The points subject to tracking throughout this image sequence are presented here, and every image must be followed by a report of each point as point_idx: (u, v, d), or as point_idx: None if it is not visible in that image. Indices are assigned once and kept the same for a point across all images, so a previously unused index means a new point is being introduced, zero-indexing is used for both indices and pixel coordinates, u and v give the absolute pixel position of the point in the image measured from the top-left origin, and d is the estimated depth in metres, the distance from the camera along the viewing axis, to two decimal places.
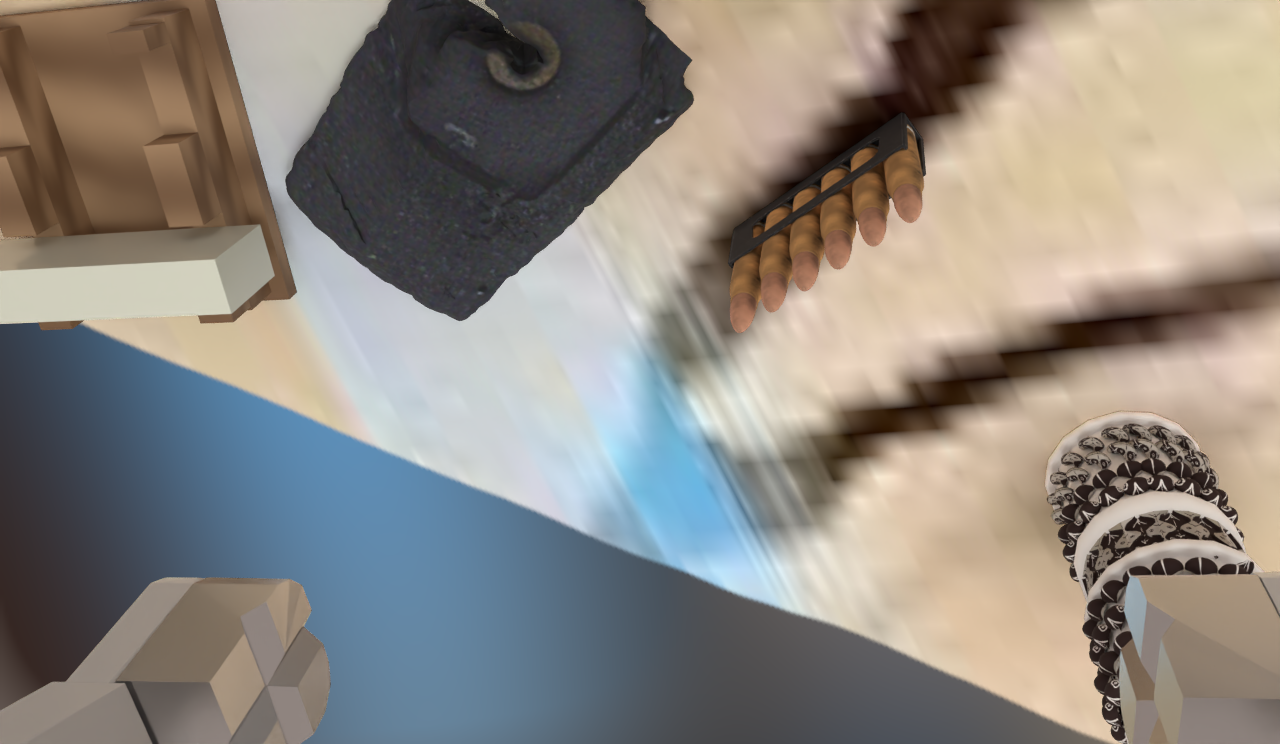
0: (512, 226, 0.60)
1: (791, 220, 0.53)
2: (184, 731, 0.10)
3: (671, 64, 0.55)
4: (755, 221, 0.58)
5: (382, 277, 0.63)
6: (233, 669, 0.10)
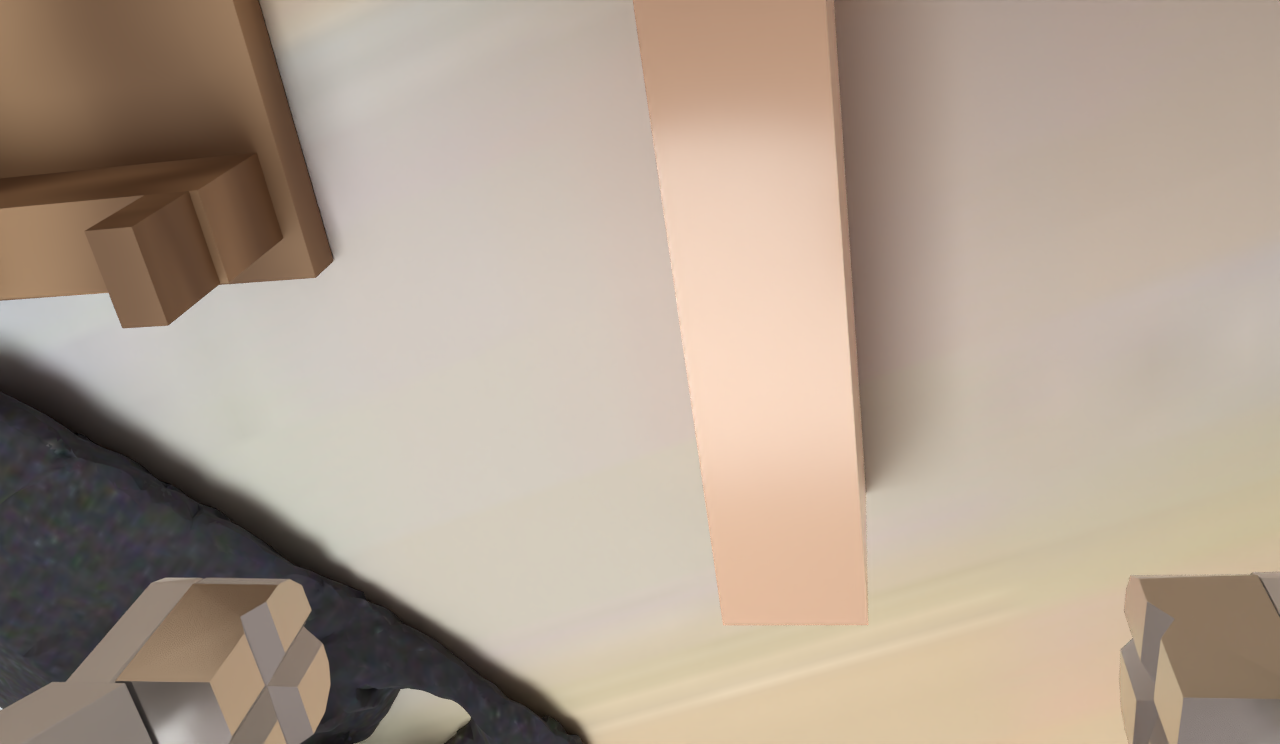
0: None
1: None
2: (184, 731, 0.10)
3: None
4: None
5: None
6: (232, 669, 0.10)
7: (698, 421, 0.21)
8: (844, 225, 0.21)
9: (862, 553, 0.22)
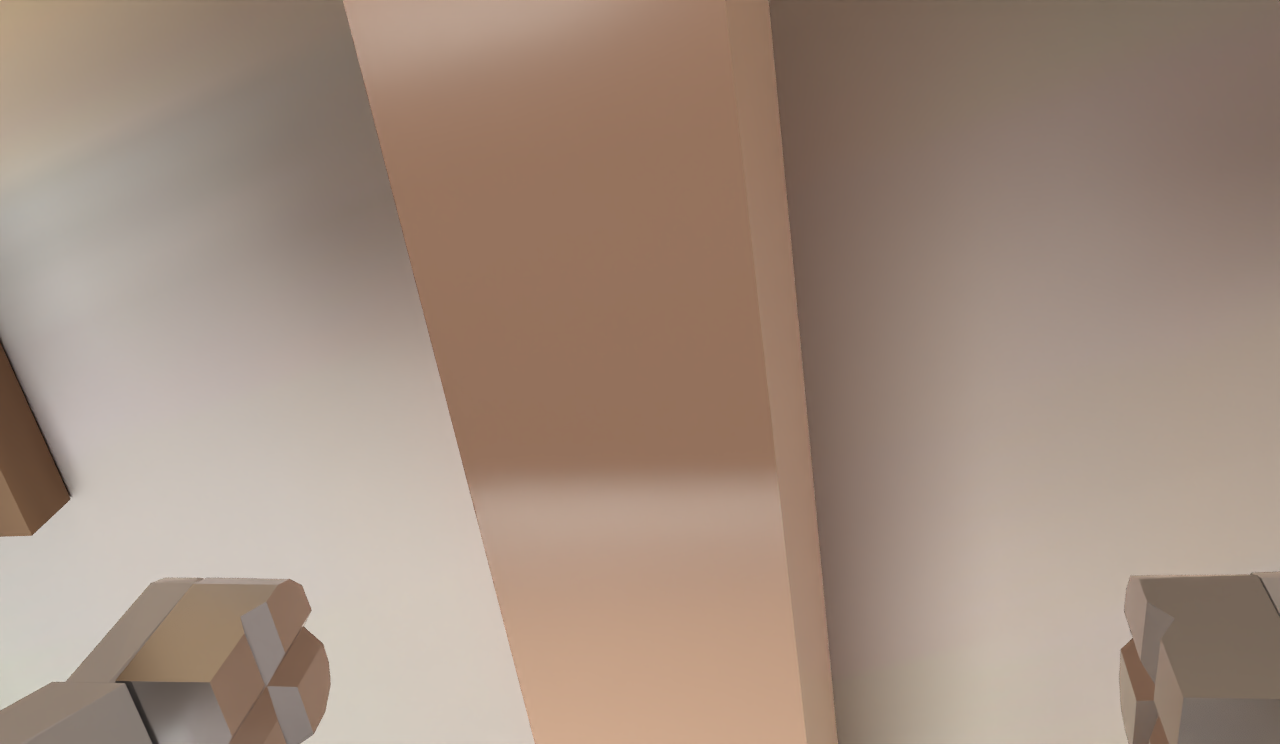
0: None
1: None
2: (184, 731, 0.10)
3: None
4: None
5: None
6: (233, 669, 0.10)
7: None
8: (801, 531, 0.13)
9: None
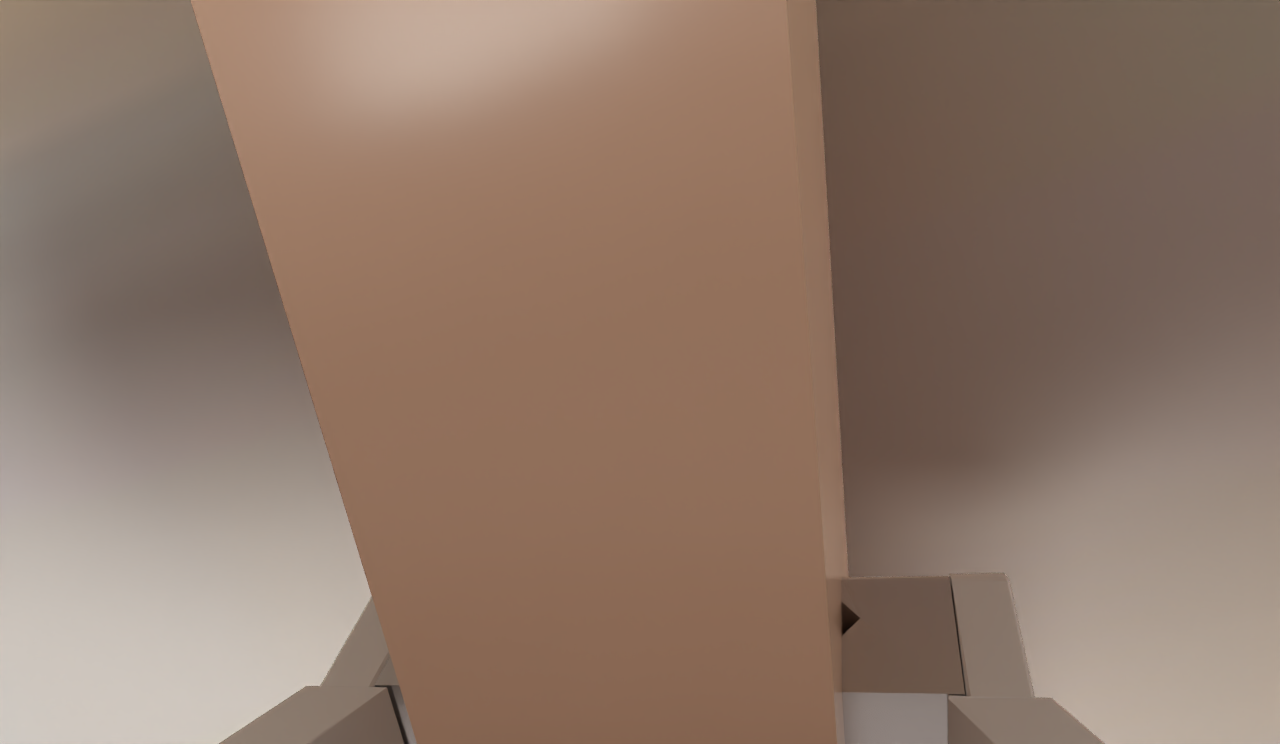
0: None
1: None
2: None
3: None
4: None
5: None
6: None
7: None
8: None
9: None
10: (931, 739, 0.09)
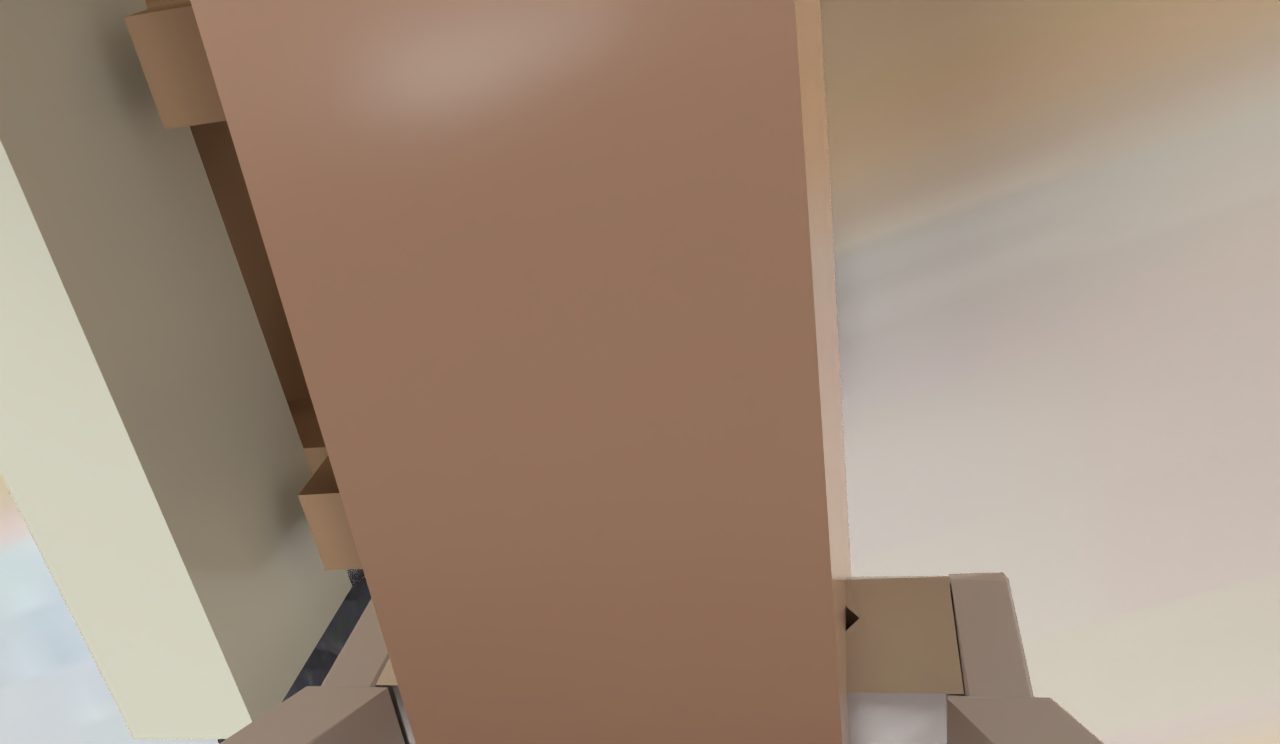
0: None
1: None
2: None
3: None
4: None
5: None
6: None
7: None
8: None
9: None
10: (930, 739, 0.09)
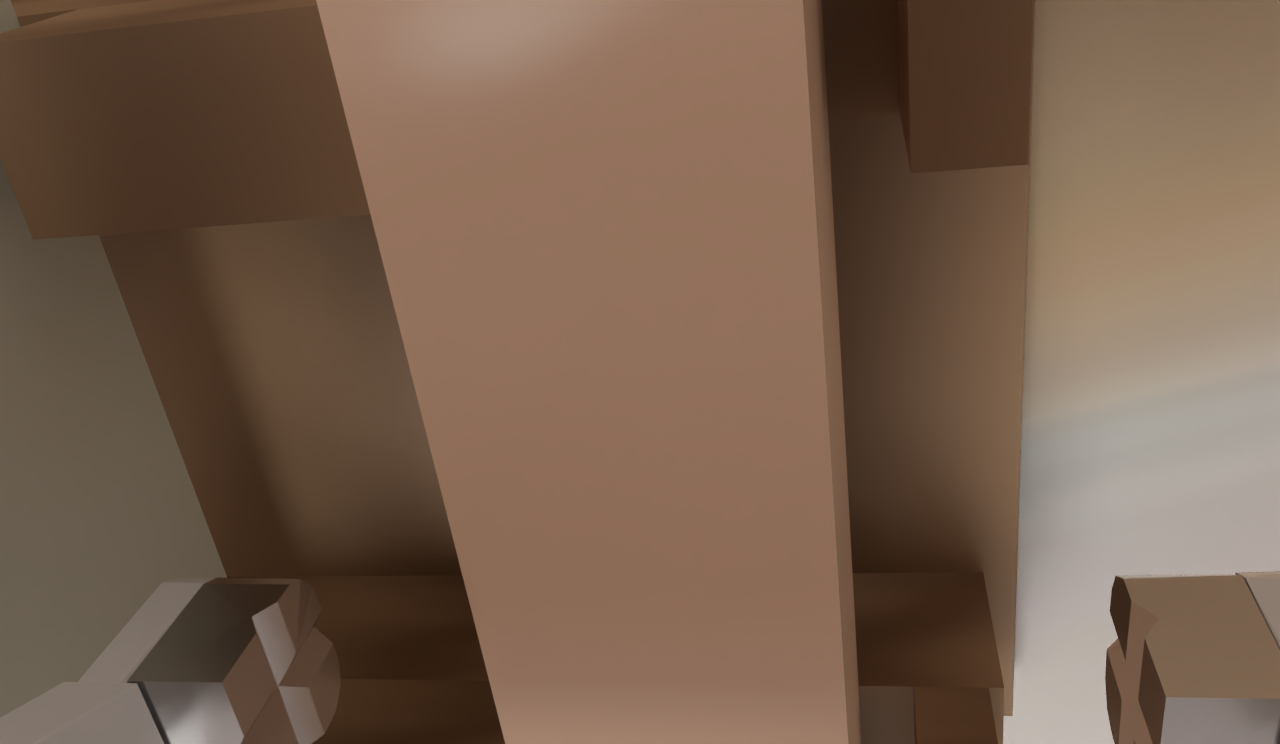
0: None
1: None
2: (195, 731, 0.10)
3: None
4: None
5: None
6: (244, 670, 0.10)
7: None
8: (847, 602, 0.11)
9: None
10: None
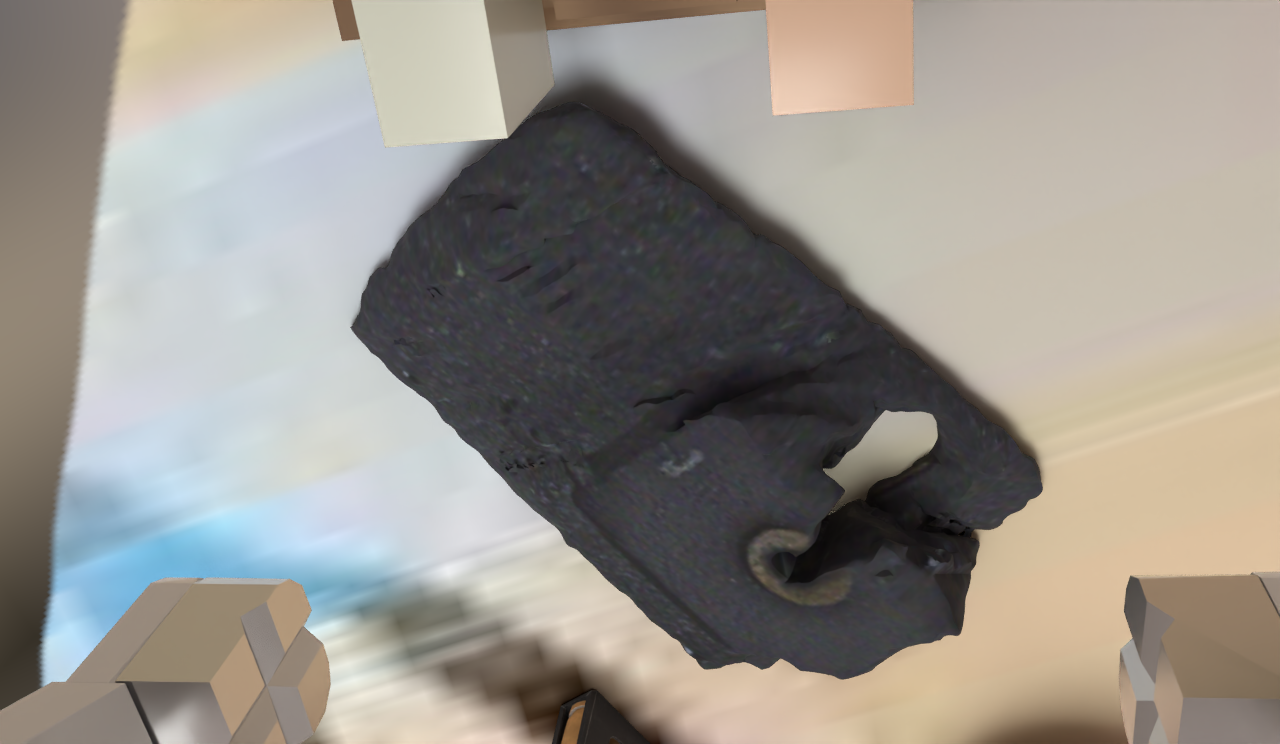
0: (525, 451, 0.38)
1: None
2: (184, 731, 0.10)
3: (759, 655, 0.42)
4: (613, 735, 0.44)
5: (414, 235, 0.35)
6: (233, 669, 0.10)
7: None
8: None
9: (912, 18, 0.23)
10: None
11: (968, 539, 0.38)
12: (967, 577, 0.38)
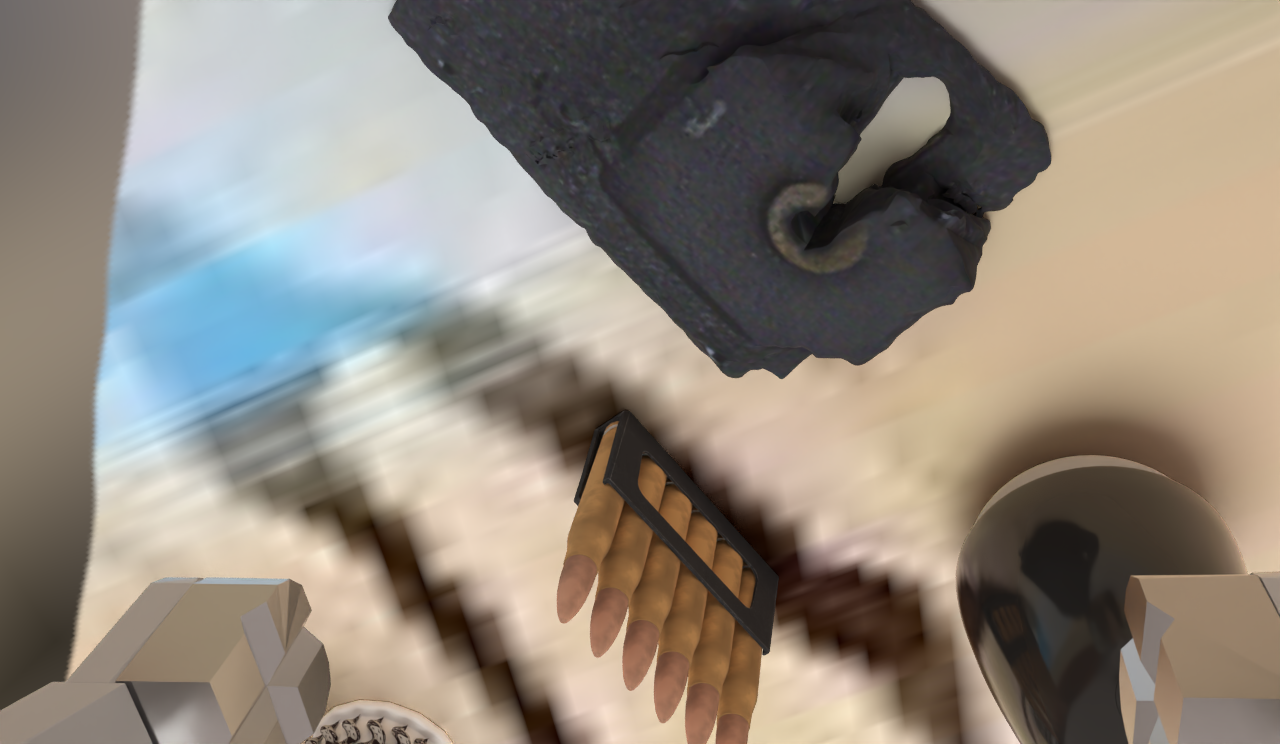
0: (555, 138, 0.40)
1: (671, 546, 0.43)
2: (184, 731, 0.10)
3: (778, 360, 0.44)
4: (646, 450, 0.46)
5: None
6: (233, 669, 0.10)
7: None
8: None
9: None
10: None
11: (980, 217, 0.40)
12: (979, 250, 0.39)
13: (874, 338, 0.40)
